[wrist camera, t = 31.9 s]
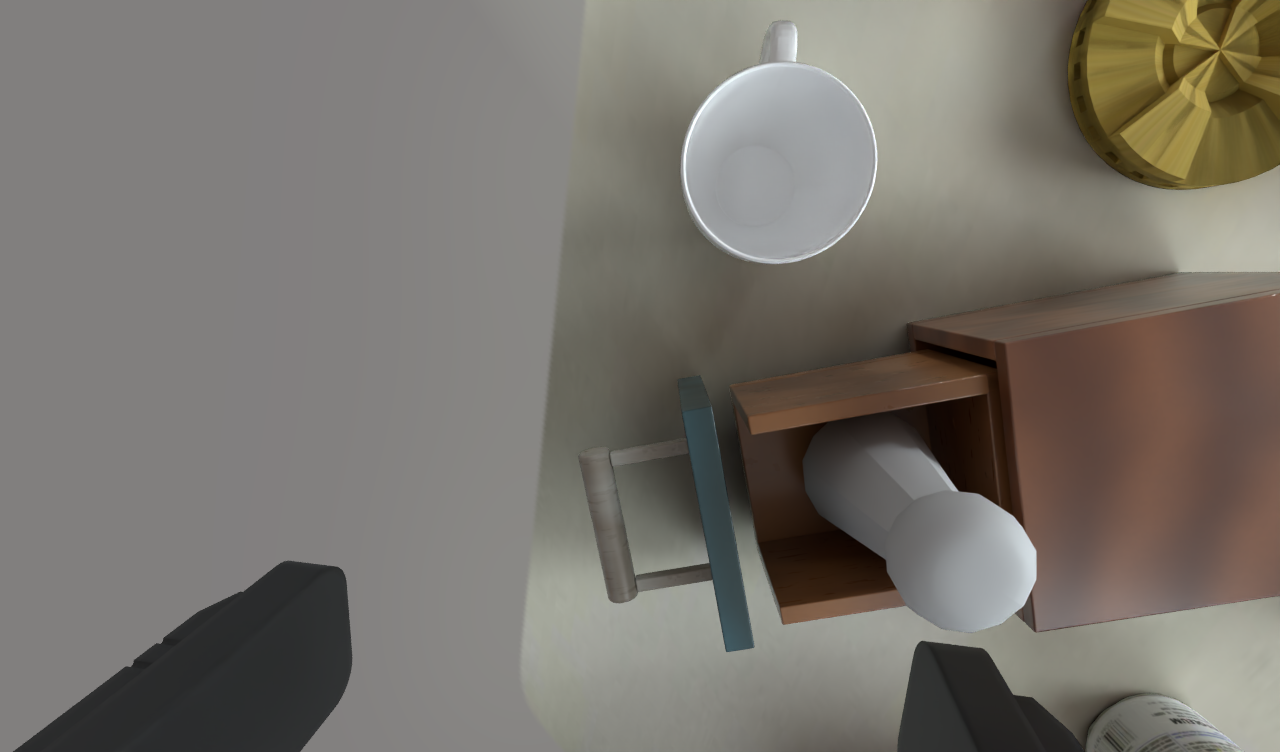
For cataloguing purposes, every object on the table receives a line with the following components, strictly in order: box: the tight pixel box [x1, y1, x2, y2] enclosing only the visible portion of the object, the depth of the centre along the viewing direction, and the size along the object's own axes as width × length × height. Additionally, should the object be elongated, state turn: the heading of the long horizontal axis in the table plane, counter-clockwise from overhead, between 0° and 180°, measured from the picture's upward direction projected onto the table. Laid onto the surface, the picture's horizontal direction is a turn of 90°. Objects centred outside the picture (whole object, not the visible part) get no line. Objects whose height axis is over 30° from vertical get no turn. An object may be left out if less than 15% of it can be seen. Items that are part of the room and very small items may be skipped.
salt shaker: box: [802, 412, 1036, 633], centre depth 26 cm, size 6×6×13 cm
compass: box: [1068, 0, 1280, 190], centre depth 29 cm, size 12×12×2 cm
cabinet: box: [907, 272, 1280, 632], centre depth 28 cm, size 14×12×10 cm
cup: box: [680, 20, 877, 264], centre depth 29 cm, size 8×10×7 cm
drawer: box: [578, 349, 1013, 652], centre depth 29 cm, size 17×10×8 cm, turn 101°
